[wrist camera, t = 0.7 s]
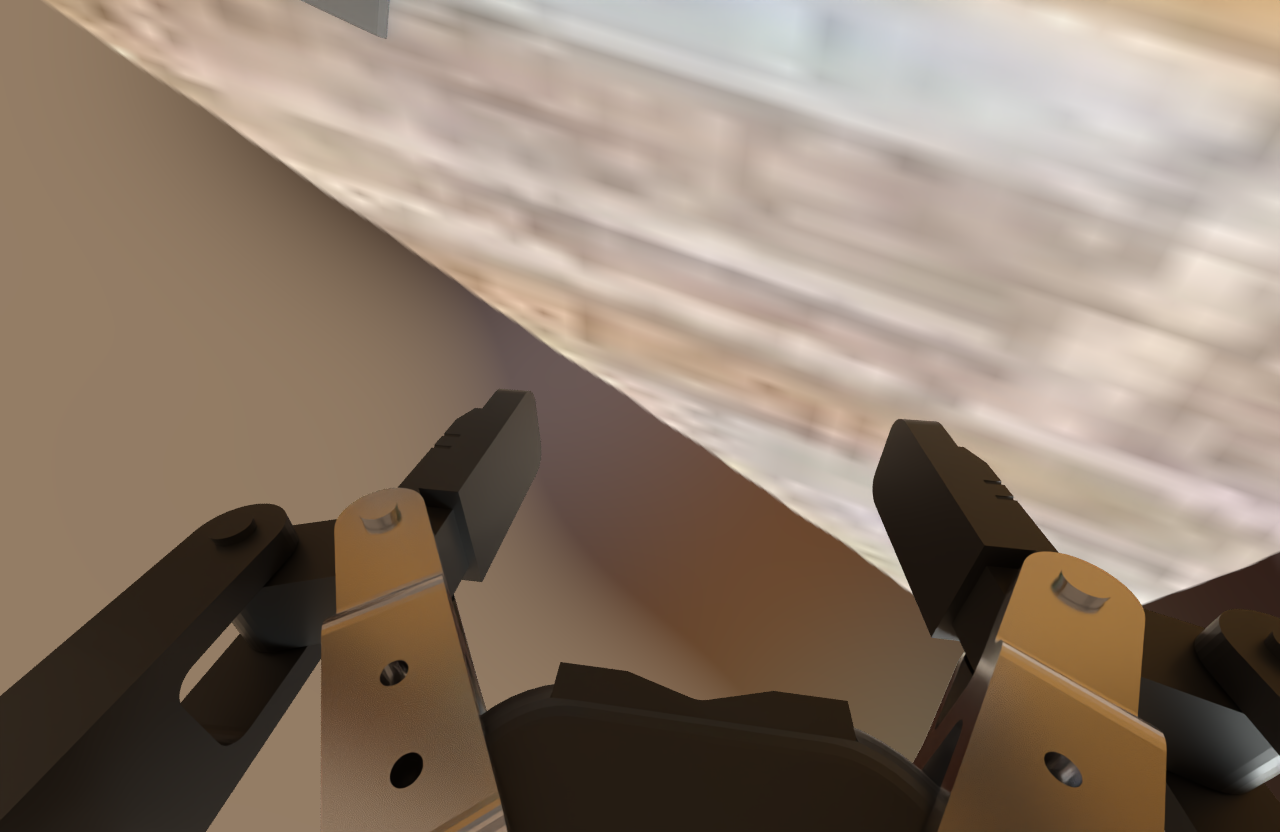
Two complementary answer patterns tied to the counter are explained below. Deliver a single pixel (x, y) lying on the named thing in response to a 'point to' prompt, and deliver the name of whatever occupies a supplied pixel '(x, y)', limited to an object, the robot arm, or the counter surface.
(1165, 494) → the counter surface
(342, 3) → the tray
